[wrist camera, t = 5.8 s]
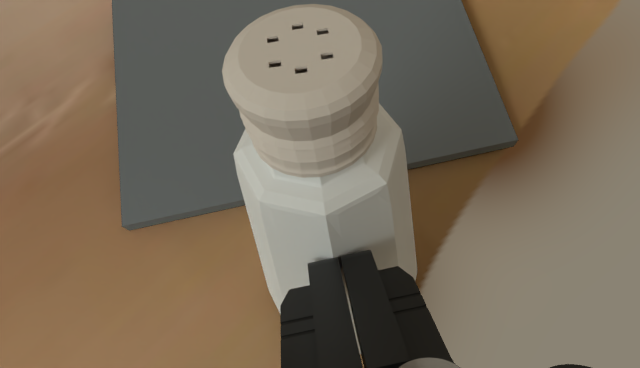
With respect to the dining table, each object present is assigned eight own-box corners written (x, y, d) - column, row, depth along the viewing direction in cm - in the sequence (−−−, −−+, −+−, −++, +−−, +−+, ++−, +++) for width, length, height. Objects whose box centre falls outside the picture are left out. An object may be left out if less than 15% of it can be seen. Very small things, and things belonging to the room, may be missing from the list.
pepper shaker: (434, 349, 16) (510, 152, 6) (272, 369, 16) (121, 206, 7) (403, 208, 19) (424, -65, 9) (267, 227, 19) (157, -23, 10)
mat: (513, 146, 19) (518, 139, 19) (128, 230, 19) (121, 226, 19) (429, -63, 24) (430, -74, 23) (117, 4, 24) (111, -5, 23)
